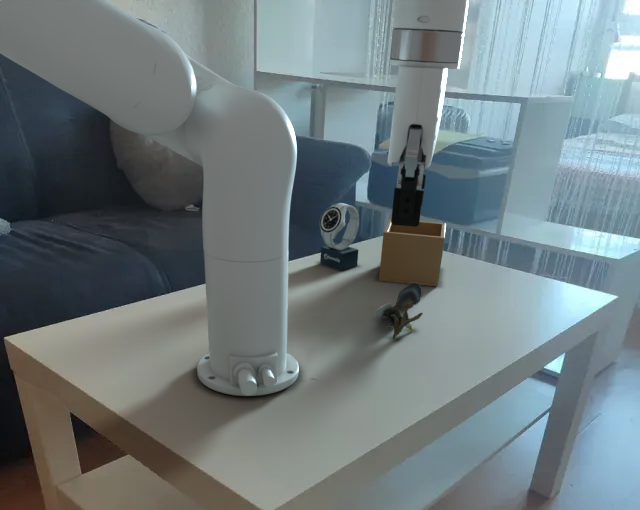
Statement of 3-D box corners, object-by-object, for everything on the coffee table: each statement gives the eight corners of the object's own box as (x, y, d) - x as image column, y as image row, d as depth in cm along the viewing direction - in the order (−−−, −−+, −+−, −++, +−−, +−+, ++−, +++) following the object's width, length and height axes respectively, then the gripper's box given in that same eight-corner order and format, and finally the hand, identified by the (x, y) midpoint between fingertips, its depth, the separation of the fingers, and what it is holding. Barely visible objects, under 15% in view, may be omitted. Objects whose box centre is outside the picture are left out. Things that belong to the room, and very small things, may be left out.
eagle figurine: (434, 335, 89) (432, 302, 96) (412, 296, 85) (411, 264, 92) (386, 355, 92) (387, 322, 99) (363, 319, 89) (365, 286, 95)
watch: (313, 265, 118) (315, 204, 112) (342, 257, 123) (345, 198, 117) (334, 272, 115) (338, 210, 109) (363, 264, 120) (368, 204, 114)
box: (437, 286, 111) (444, 238, 106) (378, 280, 112) (383, 232, 108) (439, 268, 120) (445, 223, 115) (384, 263, 121) (389, 218, 117)
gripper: (396, 48, 75) (382, 198, 84) (384, 50, 61) (368, 230, 70) (460, 52, 74) (439, 202, 83) (463, 54, 60) (437, 236, 69)
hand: (407, 215), depth 76 cm, fingers open, 9 cm apart
